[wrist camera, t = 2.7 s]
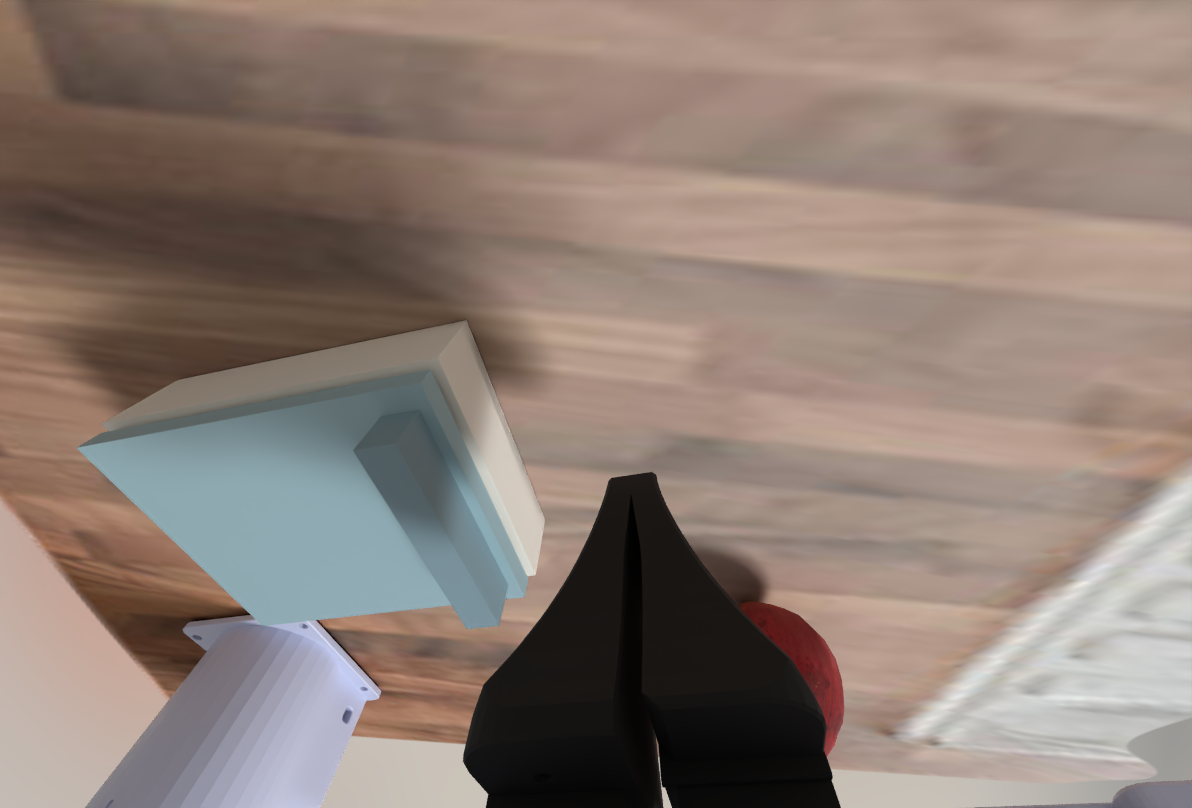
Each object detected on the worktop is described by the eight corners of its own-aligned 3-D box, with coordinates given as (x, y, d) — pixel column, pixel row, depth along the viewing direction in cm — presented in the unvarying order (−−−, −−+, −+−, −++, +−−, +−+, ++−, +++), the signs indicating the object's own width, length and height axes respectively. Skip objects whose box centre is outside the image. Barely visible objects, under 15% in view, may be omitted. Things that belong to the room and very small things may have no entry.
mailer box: (544, 519, 20) (535, 575, 18) (316, 550, 22) (278, 605, 20) (466, 319, 15) (437, 357, 13) (177, 380, 17) (100, 423, 14)
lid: (528, 578, 18) (517, 637, 16) (274, 608, 19) (234, 665, 17) (430, 369, 13) (395, 414, 11) (101, 432, 14) (16, 482, 12)
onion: (730, 554, 21) (785, 752, 15) (829, 585, 22) (925, 784, 16) (675, 619, 24) (700, 809, 17) (765, 643, 25) (822, 832, 18)
